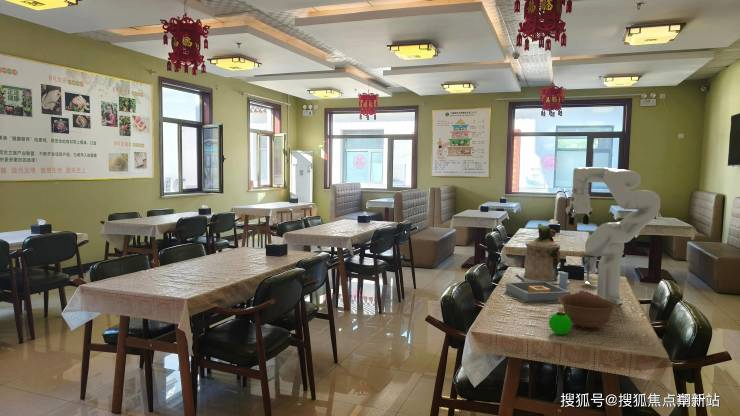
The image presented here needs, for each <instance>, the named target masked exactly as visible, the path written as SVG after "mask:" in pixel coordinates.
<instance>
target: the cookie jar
mask: <svg viewBox="0 0 740 416" xmlns="http://www.w3.org/2000/svg"><path fill="white" fill-rule="evenodd" d="M537 229H538V237H536V238H535V239H534V240H532V241H527V242H525V247H526V251H525V257H524V262H523V266H524V271H523V270H516V271H515V274H516V276H518V277H519V278H521V279H522V280H523V282H548V283H550V284H552V285H559V275H560V272H559V270H558V269H559V268H558V267H559V264H560V261H561V256H560V255H561V253H560V249H561V245H560V244H558V243H557V242H556V241H555V240H554V238H553V237H555V236H556V233H557V232H556V230H554V229H551V228H550V226H549V225H544V224H541V223H540V222H539V223H538V225H537ZM570 282H571V281H570V280H569V279H568V284H570ZM568 284H567V285H568Z"/></svg>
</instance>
